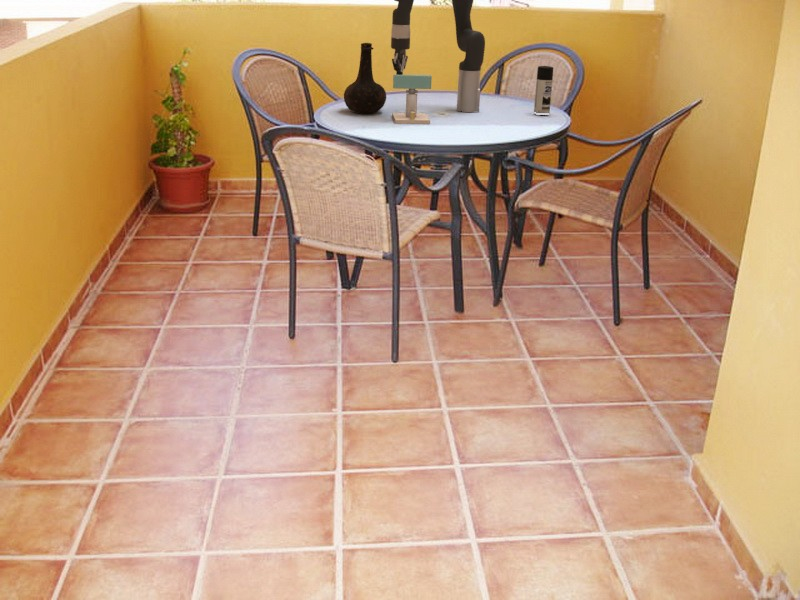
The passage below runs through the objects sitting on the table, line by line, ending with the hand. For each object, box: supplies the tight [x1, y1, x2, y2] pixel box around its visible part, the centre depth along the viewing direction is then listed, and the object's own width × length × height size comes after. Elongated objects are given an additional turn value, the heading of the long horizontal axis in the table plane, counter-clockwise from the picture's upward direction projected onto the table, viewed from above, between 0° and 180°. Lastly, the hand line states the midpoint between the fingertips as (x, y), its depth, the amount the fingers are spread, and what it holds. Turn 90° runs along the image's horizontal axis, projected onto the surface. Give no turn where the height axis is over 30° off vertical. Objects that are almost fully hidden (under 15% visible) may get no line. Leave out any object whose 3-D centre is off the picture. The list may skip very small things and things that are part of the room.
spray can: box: [533, 65, 554, 114], centre depth 358 cm, size 7×7×20 cm
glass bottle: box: [343, 42, 387, 115], centre depth 350 cm, size 18×18×28 cm
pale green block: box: [392, 74, 433, 94], centre depth 337 cm, size 15×3×7 cm, turn 96°
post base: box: [391, 93, 431, 125], centre depth 340 cm, size 14×14×10 cm
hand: (399, 80), depth 342 cm, fingers closed
